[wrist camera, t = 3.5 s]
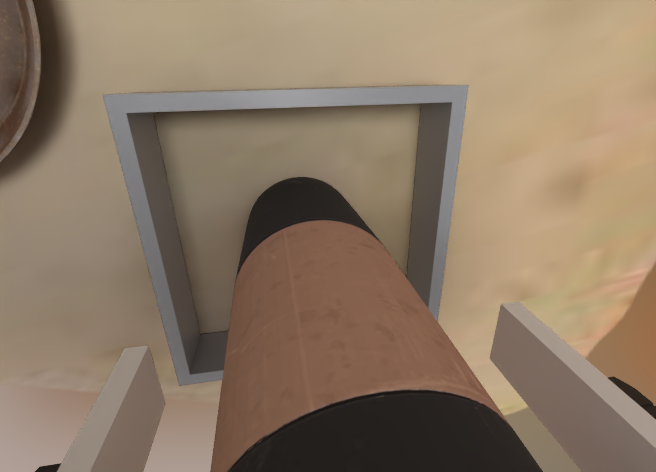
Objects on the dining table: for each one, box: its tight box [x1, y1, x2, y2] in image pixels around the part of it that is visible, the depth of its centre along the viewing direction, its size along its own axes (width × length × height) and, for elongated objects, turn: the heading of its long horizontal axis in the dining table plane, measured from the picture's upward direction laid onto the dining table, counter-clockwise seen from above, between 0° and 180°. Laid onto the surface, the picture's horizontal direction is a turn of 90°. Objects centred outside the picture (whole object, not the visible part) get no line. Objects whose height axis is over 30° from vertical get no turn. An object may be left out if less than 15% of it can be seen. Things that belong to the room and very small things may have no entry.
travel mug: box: [210, 177, 543, 472], centre depth 15 cm, size 8×8×20 cm
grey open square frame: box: [103, 85, 469, 386], centre depth 22 cm, size 18×18×4 cm
